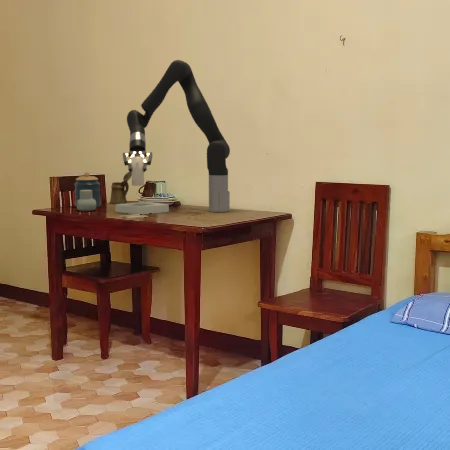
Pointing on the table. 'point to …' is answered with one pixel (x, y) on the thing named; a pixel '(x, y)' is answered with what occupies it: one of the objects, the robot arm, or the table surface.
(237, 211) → the table surface
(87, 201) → the air freshener
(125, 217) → the cork coaster
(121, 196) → the wooden mug
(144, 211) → the board
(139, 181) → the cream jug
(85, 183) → the canister
